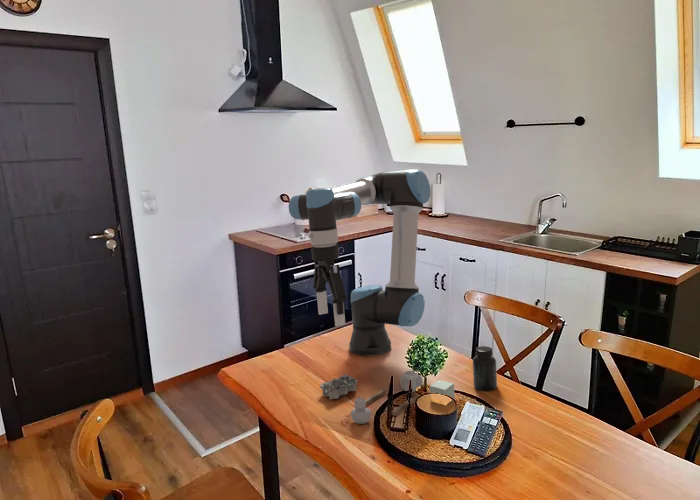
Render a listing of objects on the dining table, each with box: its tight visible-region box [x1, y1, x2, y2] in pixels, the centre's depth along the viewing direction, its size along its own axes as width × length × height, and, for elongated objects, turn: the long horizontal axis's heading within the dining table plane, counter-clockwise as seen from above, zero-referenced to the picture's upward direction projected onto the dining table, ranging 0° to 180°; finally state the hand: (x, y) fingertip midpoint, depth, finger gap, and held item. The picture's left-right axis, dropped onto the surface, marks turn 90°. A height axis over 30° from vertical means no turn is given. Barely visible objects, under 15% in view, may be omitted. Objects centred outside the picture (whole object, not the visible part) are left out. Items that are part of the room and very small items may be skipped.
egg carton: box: [319, 373, 359, 400], centre depth 153 cm, size 11×8×4 cm
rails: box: [364, 389, 416, 417], centre depth 144 cm, size 10×12×1 cm
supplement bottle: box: [472, 345, 498, 392], centre depth 150 cm, size 7×7×12 cm
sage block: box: [429, 379, 456, 401], centre depth 144 cm, size 5×5×5 cm
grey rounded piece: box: [350, 394, 372, 425], centre depth 135 cm, size 5×7×8 cm
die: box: [399, 370, 424, 393], centre depth 153 cm, size 5×5×5 cm
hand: (331, 319), depth 140 cm, fingers open, 13 cm apart
